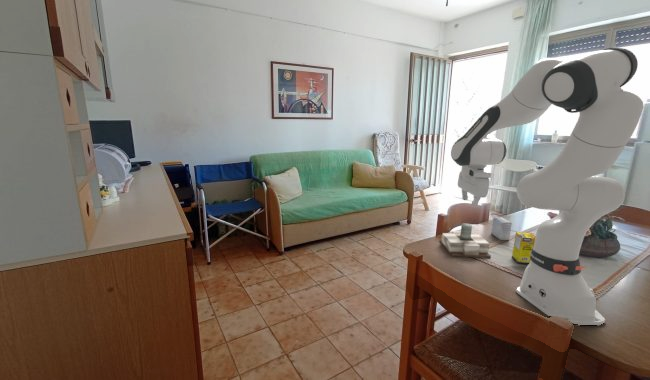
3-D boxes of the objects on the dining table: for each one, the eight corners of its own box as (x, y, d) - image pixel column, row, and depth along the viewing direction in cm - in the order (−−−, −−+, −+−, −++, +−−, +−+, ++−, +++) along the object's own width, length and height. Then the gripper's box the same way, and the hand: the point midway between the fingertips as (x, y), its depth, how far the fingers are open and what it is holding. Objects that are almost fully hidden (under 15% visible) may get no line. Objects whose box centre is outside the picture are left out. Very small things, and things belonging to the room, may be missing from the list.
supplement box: (534, 265, 114) (539, 238, 111) (517, 263, 115) (522, 237, 113) (527, 258, 120) (532, 233, 117) (511, 257, 121) (515, 231, 118)
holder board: (491, 257, 120) (492, 246, 119) (452, 256, 120) (453, 245, 119) (473, 241, 135) (475, 231, 134) (439, 241, 136) (440, 230, 135)
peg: (470, 248, 126) (473, 226, 123) (461, 248, 126) (464, 226, 123) (466, 245, 129) (469, 223, 127) (457, 244, 130) (460, 223, 127)
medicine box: (509, 240, 138) (512, 222, 136) (499, 240, 138) (502, 222, 136) (500, 233, 145) (502, 217, 143) (490, 233, 145) (493, 216, 143)
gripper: (455, 165, 130) (452, 196, 133) (476, 173, 110) (472, 209, 113) (470, 166, 130) (466, 196, 133) (494, 174, 110) (489, 210, 113)
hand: (469, 202), depth 123 cm, fingers open, 8 cm apart
